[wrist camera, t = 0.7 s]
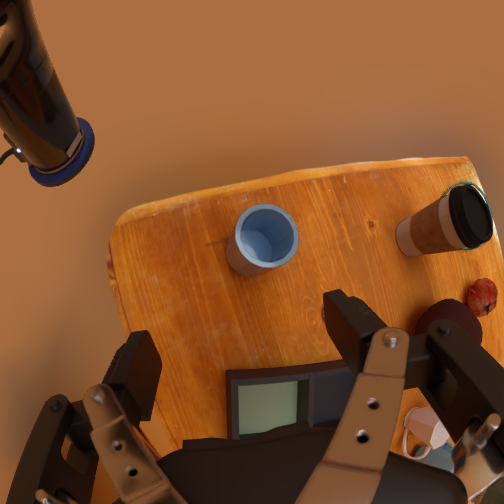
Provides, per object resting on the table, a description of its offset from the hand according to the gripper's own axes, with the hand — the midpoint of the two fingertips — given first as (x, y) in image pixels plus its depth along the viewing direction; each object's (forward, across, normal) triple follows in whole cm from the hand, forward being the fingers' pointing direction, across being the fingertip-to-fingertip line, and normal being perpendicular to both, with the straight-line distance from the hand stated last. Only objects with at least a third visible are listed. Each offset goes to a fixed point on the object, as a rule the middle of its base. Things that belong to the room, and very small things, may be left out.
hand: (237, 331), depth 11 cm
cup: (+10, -22, +36) cm, 43 cm away
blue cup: (+21, -2, +3) cm, 21 cm away
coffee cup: (+25, -27, +8) cm, 38 cm away
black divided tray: (+10, -3, +25) cm, 27 cm away
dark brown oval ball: (+17, -27, +23) cm, 39 cm away
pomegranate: (+21, -43, +23) cm, 53 cm away
